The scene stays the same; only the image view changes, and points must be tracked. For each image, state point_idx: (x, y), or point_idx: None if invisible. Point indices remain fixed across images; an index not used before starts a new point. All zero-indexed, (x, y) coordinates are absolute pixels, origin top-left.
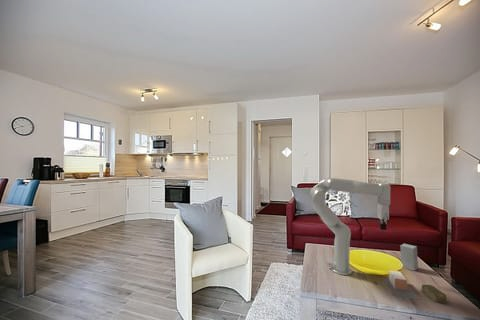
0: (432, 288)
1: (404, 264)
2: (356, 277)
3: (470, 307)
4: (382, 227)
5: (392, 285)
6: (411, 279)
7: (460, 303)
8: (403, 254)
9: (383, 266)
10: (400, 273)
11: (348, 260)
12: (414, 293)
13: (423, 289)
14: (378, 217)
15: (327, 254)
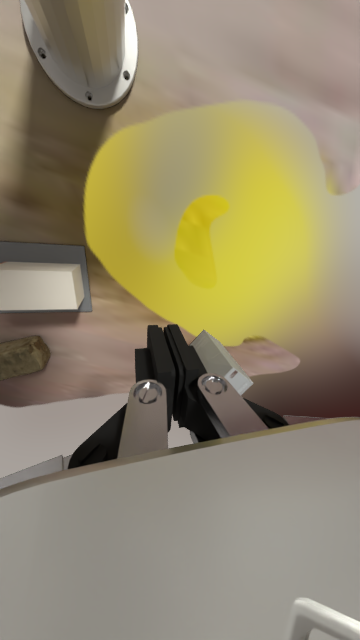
0: (7, 365)
1: (200, 340)
2: (37, 116)
3: (12, 405)
4: (137, 352)
5: (33, 261)
6: (121, 331)
7: (22, 394)
8: (212, 356)
9: (195, 279)
10: (58, 305)
11: (39, 16)
12: (7, 312)
13: (24, 342)
14: (247, 448)
15: (290, 21)
